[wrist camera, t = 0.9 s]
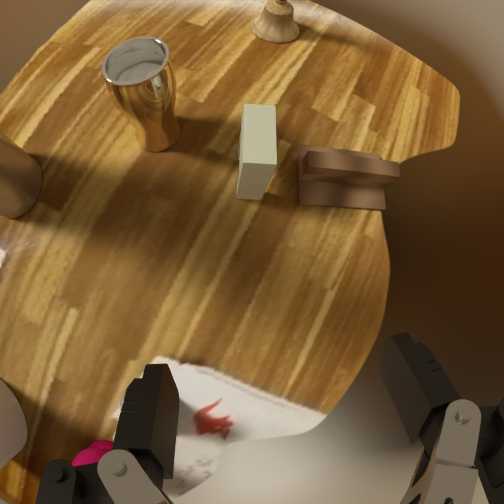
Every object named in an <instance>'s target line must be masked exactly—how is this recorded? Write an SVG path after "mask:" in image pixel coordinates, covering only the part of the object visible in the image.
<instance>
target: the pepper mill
mask: <svg viewBox="0 0 504 504" xmlns="http://www.w3.org/2000/svg"><path fill="white" fill-rule="evenodd" d="M112 446H113V442H110V441H107V440H98V441H95V442H93V443H92V444H91V445H90V446H89V447H88V448H87V449H84V450H82V451H80V452H79V453H78V454H77V455H76V456H75V458H74V459H73V461H72V465H73V466H78V465H85V464H91V463H95V462H98V461H99V460H100V459H101V457H102V456H103V455H104V454H106V453H107V452H109V451H111V449H112Z"/></svg>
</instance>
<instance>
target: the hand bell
mask: <svg viewBox="0 0 504 504" xmlns="http://www.w3.org/2000/svg"><path fill="white" fill-rule="evenodd" d="M293 11H294V8H293V6H292V5H291V4H290V3H289V2H287V0H270V1H268V2H267V3H266V5H265V8H264V10H263V12H262V13H261V14H259V15H257V16H255V17H254V18H253V19H252V20H251V22H250V29H251V31H252V32H253V33H254V35H256V36H257V37H258V38H260V39H262V40H264V41H267V42H271V43H287V42H291V41H293V40H295V39H296V38H297V37H298V35H299V27H298V25H297V23H296V22H295V21H294V20H293Z"/></svg>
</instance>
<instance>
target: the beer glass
mask: <svg viewBox="0 0 504 504" xmlns="http://www.w3.org/2000/svg"><path fill="white" fill-rule="evenodd" d="M102 74H103V76H104V78H105V82H106V85H107V88H108V91H109V93H110V96H111V98H112V100H113V102H114V104H115V106H116V107H117V109H118V110H119V111H120V113H121V114H122V115H123V116H124V117H125V118H126V119H127V121H128V122H129V123H130V124H131V125H132V126H133V127H134V129H135V137H136V140H137V143H138V144H139V145H140V146H141V147H142V148H143V149H145V150H147V151H151V152H159V151H163V150H166V149H168V148H170V147H171V146H172V145H173V144H174V143H175V142H176V141H177V140H178V138H179V135H180V132H181V126H180V123H179V121H178V119H177V117H176V116H175V113H174V109H175V101H176V77H175V72H174V67H173V64H172V60H171V57H170V54H169V48H168V46H167V45H166V44H165V42H163V41H162V40H160V39H158V38H155V37H150V36H141V37H135V38H131V39H128V40H126V41H124V42H122V43H120V44H118V45H117V46H115V47H114V48H113V49H112V50H111V51H110V52H109V53H108V54H107V55H106V57H105V59H104V61H103V64H102Z"/></svg>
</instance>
